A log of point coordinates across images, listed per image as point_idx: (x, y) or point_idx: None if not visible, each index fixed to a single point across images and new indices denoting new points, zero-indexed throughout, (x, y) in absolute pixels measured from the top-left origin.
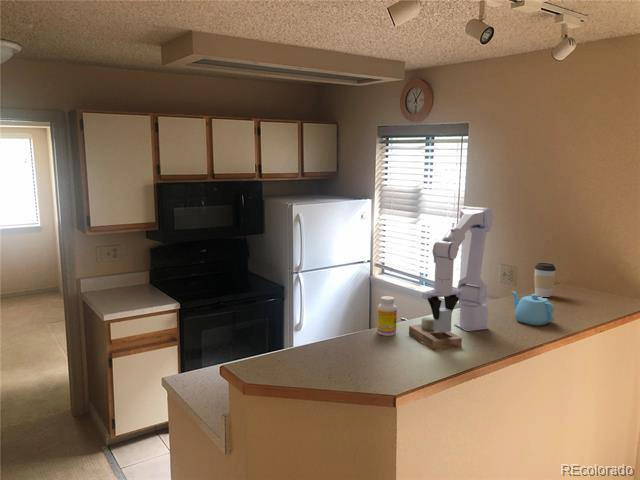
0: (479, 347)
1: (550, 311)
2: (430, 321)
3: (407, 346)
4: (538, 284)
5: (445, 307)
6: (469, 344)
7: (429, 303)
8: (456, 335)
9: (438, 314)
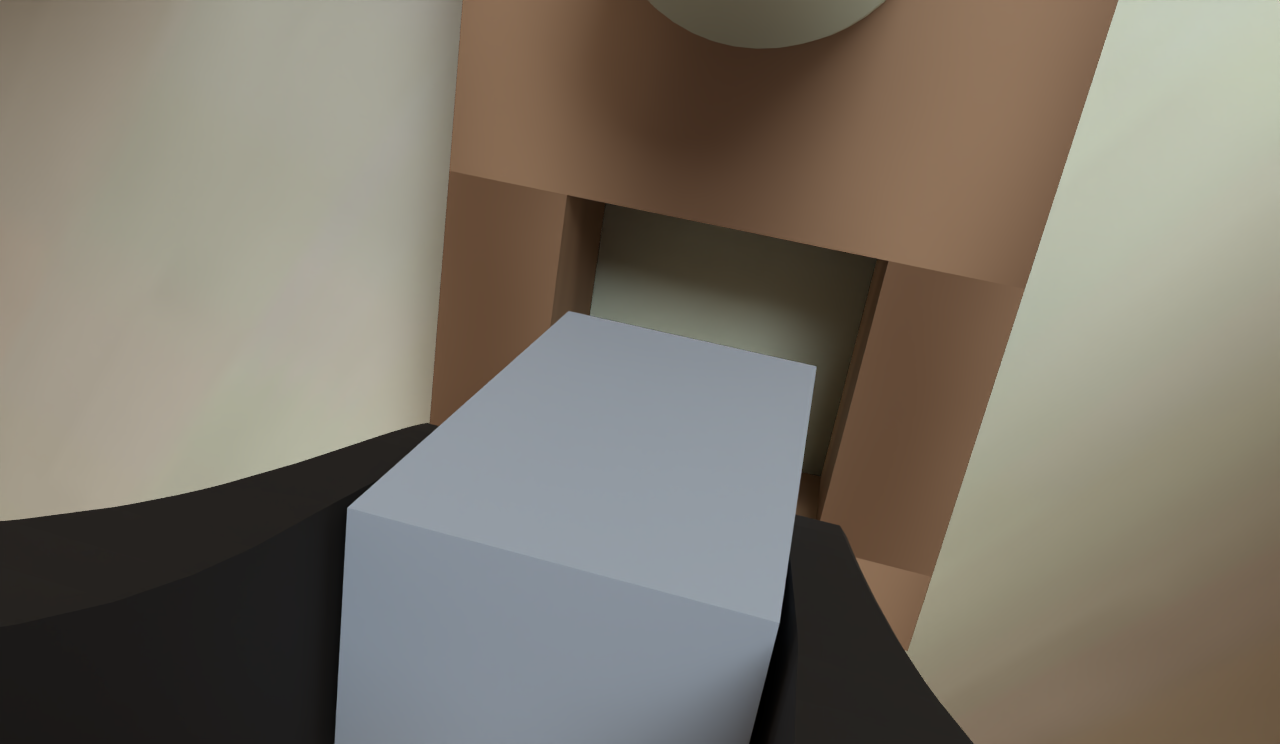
0: (1120, 714)
1: None
2: (706, 31)
3: (229, 146)
4: None
5: (789, 652)
6: (1107, 570)
7: (10, 536)
8: (936, 527)
9: None
